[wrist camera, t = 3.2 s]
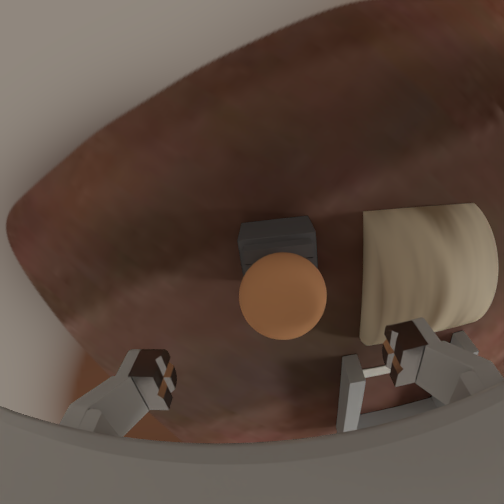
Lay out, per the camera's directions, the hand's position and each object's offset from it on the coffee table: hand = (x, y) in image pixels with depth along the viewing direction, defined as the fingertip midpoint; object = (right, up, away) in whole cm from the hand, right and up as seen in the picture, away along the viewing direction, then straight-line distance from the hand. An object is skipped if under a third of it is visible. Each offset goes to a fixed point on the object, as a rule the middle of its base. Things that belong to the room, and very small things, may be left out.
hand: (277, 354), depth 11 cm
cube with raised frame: (+1, +4, +8) cm, 9 cm away
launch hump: (+11, +4, +14) cm, 19 cm away
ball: (0, +2, +3) cm, 4 cm away
